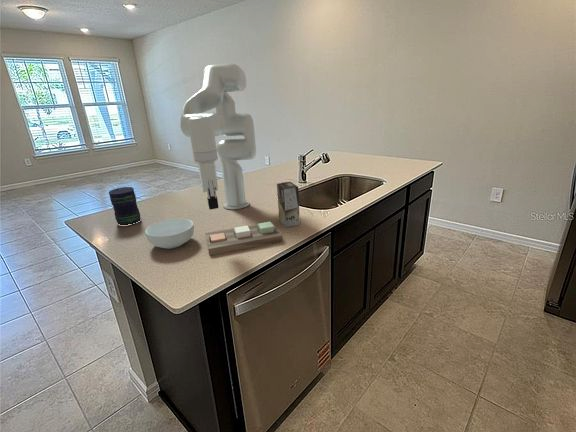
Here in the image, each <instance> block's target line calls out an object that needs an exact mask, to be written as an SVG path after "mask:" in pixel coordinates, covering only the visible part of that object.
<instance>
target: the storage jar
mask: <svg viewBox="0 0 576 432" xmlns="http://www.w3.org/2000/svg"><path fill="white" fill-rule="evenodd" d="M108 195H109V200H110V202H111V206H112V208H113V211H114V216H115V217H114V218H115V220H116V223H118V224H120V225H128V224H133V223H136V222H138V221H140V219H141V212H140V210H139V207H138V204H137V195H136V193H135V189H134V187H132V186H123V187H117V188H114V189H111V190H109V191H108ZM141 220H142V219H141ZM118 224H117V225H118Z"/></svg>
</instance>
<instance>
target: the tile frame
mask: <svg viewBox="0 0 576 432" xmlns="http://www.w3.org/2000/svg"><path fill="white" fill-rule="evenodd" d="M270 222H271V223H272V224H273V226H274V232H270V233H265V234H260V233H259V231H258V224H259V223H256V224H250V225H249V224H248V225H247V226H248V228H249V229H250V234H251V236H248V237H243V238H237V239H236V236H235V231H234V228H235V227H231V228H227V229H220V230H215V231H210V232H209V231H208V232H204V234H205V240H206V244H207V245H206V246H207V251H208V255H209V256H213V255H218V254H223V253H224V254H225V253H229V252H235V251H239V250H245V249H251V248H255V247H260V246H266V245H271V244H275V243H281V242H283V235H282V233H281V232H280V231H279V229H278V228H277V226H276V225H275V224H274V223H273V222H272V221H270ZM219 233H224V235H225V238H226V241H221V242H215V243H211V238H210V235H214V234H219Z"/></svg>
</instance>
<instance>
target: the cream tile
mask: <svg viewBox="0 0 576 432" xmlns="http://www.w3.org/2000/svg"><path fill="white" fill-rule="evenodd" d="M233 228H234V231H235V236H236V239H237V238H243V237H248V236H251V234H250V229H249V228H248V225H244V226H243V225H242V226H236V227H233Z"/></svg>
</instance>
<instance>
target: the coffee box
mask: <svg viewBox="0 0 576 432" xmlns="http://www.w3.org/2000/svg"><path fill="white" fill-rule="evenodd" d="M276 192H277V193H276V194H277V207H278V218H279V222H281V224H283V226H284V227H286V228H290V227H294V226H299V225H300V224H301V221H300V220H301V219H300V216H301V215H300V200H299V199H300V198H299V186H298V185H296V184H295V183H293V182H292V181H286V182H280V183H276Z"/></svg>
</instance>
